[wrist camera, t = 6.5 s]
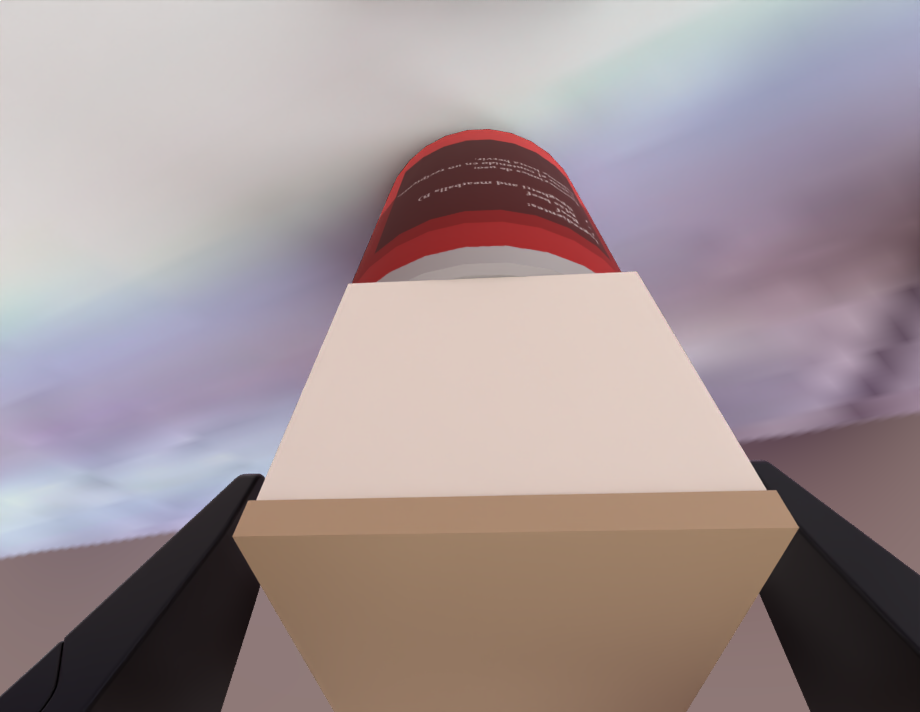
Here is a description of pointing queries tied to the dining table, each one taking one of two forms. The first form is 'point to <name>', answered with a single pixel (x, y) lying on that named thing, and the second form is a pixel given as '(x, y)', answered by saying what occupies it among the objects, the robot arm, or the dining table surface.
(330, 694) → the cream box
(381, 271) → the canned food
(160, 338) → the dining table surface
